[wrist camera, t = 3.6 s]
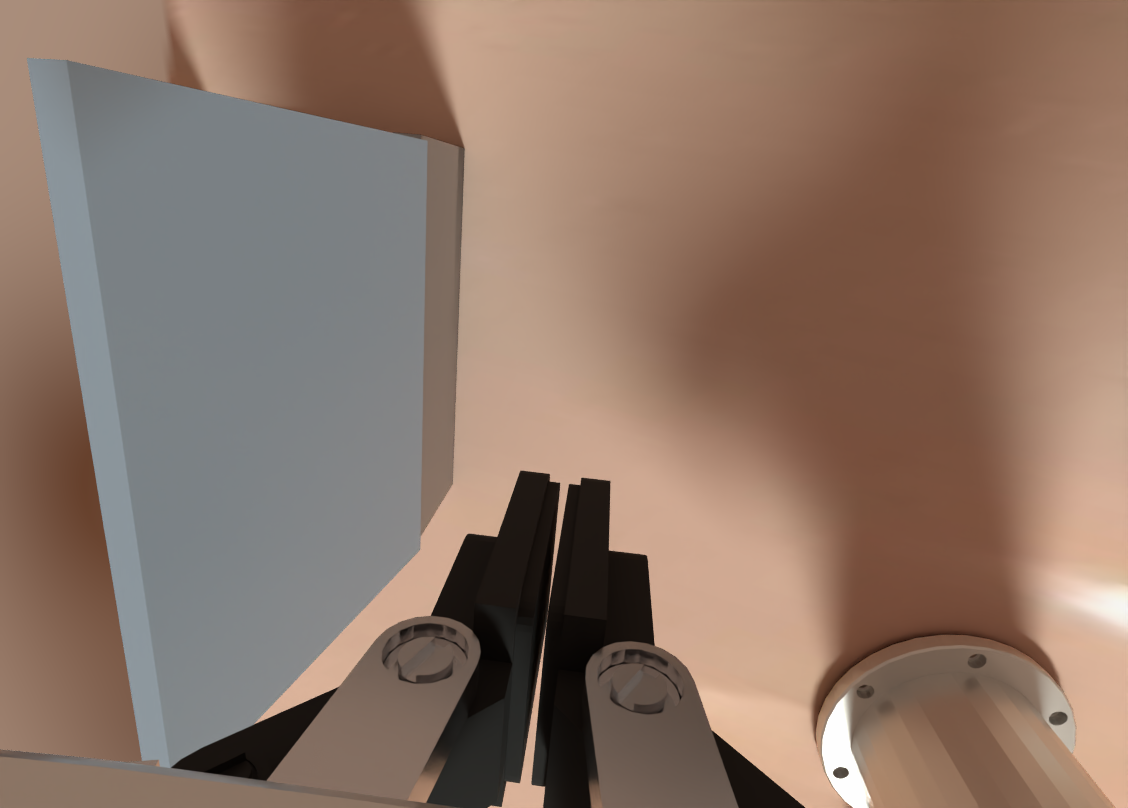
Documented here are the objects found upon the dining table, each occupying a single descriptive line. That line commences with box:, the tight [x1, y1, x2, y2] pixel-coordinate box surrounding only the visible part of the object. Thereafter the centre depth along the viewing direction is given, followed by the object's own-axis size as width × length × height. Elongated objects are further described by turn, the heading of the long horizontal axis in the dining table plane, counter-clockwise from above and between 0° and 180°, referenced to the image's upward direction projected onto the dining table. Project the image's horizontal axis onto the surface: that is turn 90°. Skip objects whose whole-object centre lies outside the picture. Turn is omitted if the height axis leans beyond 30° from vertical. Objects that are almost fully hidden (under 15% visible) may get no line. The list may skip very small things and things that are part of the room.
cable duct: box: [393, 132, 464, 537], centre depth 27 cm, size 16×12×6 cm
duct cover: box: [27, 58, 428, 768], centre depth 18 cm, size 16×12×1 cm
